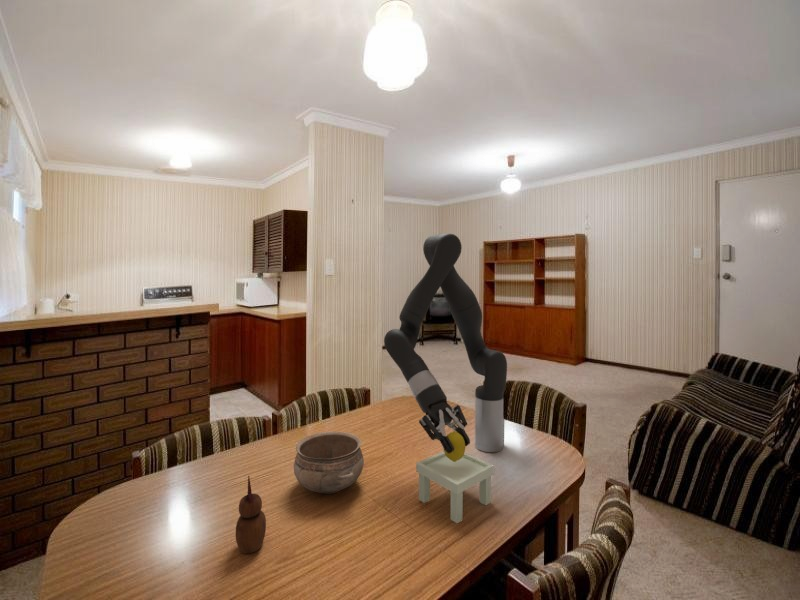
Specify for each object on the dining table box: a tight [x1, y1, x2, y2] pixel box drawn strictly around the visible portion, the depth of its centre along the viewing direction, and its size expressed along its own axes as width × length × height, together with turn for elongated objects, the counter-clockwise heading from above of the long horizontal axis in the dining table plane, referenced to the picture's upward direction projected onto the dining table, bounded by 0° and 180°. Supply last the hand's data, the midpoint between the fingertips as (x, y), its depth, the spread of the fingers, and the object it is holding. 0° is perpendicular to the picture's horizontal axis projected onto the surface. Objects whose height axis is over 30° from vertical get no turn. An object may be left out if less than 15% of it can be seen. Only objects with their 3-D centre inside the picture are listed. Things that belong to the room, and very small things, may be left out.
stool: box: [415, 450, 495, 524], centre depth 101 cm, size 14×14×10 cm
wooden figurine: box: [235, 475, 267, 554], centre depth 84 cm, size 7×6×15 cm
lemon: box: [443, 430, 466, 462], centre depth 101 cm, size 6×6×8 cm
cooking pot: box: [293, 431, 365, 495], centre depth 108 cm, size 25×19×12 cm
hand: (459, 448), depth 99 cm, fingers closed on lemon, 5 cm apart
